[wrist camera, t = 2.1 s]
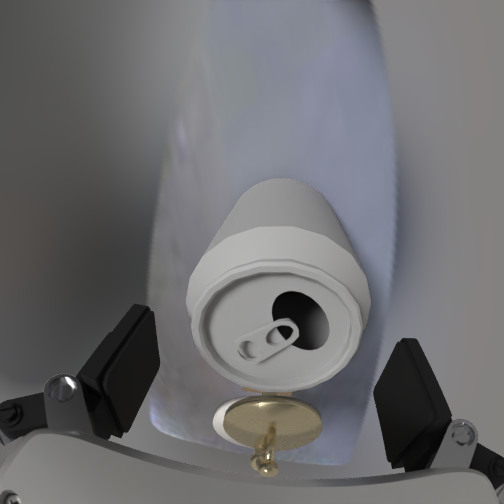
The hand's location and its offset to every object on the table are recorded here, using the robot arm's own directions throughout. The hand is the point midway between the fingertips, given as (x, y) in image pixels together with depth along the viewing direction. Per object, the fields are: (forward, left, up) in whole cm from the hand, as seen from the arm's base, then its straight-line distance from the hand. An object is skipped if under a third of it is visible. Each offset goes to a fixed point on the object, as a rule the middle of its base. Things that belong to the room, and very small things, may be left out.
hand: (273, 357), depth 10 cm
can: (-1, 0, -12) cm, 12 cm away
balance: (+12, +1, -12) cm, 17 cm away
